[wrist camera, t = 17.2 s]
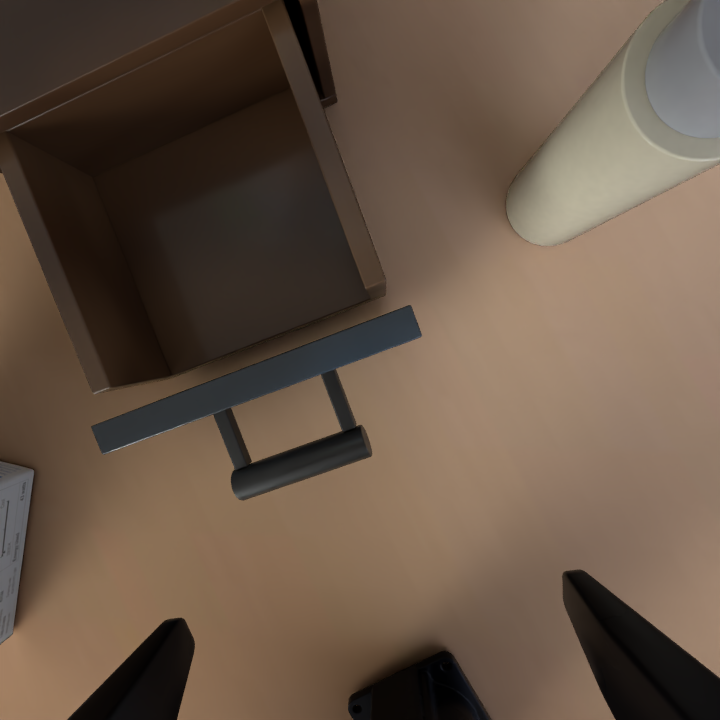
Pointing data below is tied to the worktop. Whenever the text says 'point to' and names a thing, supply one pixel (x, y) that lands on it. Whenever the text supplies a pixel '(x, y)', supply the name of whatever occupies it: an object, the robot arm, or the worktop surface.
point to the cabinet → (119, 44)
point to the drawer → (205, 238)
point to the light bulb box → (12, 538)
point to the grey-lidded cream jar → (628, 129)
